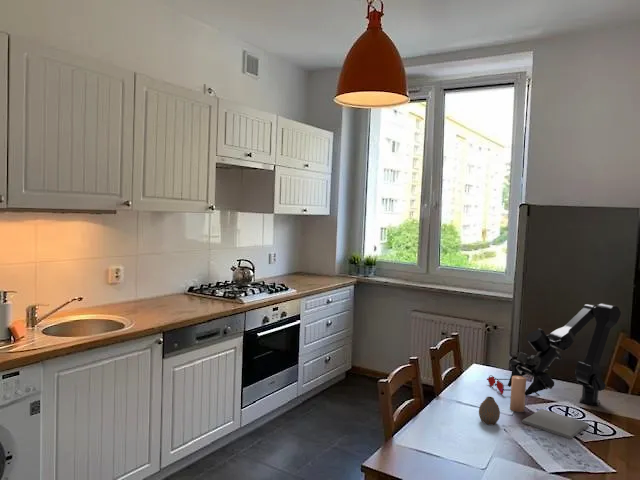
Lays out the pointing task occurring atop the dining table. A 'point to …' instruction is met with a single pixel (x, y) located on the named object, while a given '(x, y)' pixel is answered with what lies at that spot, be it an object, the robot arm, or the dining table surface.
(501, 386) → the glasses
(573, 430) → the tile
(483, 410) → the vase
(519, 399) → the tan cylinder
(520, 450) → the dining table surface
